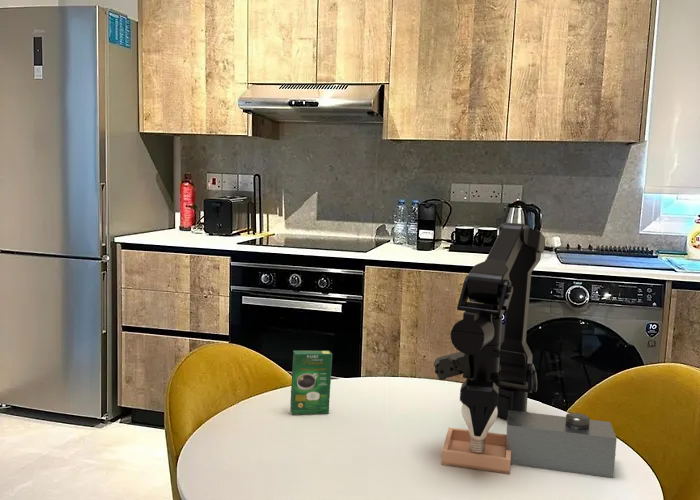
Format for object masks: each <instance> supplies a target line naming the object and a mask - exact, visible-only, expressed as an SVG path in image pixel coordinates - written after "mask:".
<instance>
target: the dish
mask: <svg viewBox="0 0 700 500" xmlns="http://www.w3.org/2000/svg"><path fill="white" fill-rule="evenodd" d="M506 434H507V433H506ZM506 434H504V433H495V432H490V431H488V434H487V437H486V438H485V451H484V452H482V453H479V454H476V453H474V452H472V451H471V450H470V442H471V441H470V440H471V439H470V434H469V429H463V428H458V427H450V426H449V427H448V429H447V432H446V435H445V440H444V444H443V446H442V449H441V463H440V464H441V466H447V467H456V468H464V469H470V470H476V471H477V470H478V471H484V472H491V473H497V474H500V473H501V474H505V475H506V474H507V475H510V473H511V464H510V461H511V450H506ZM505 451H506V457H505Z"/></svg>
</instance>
